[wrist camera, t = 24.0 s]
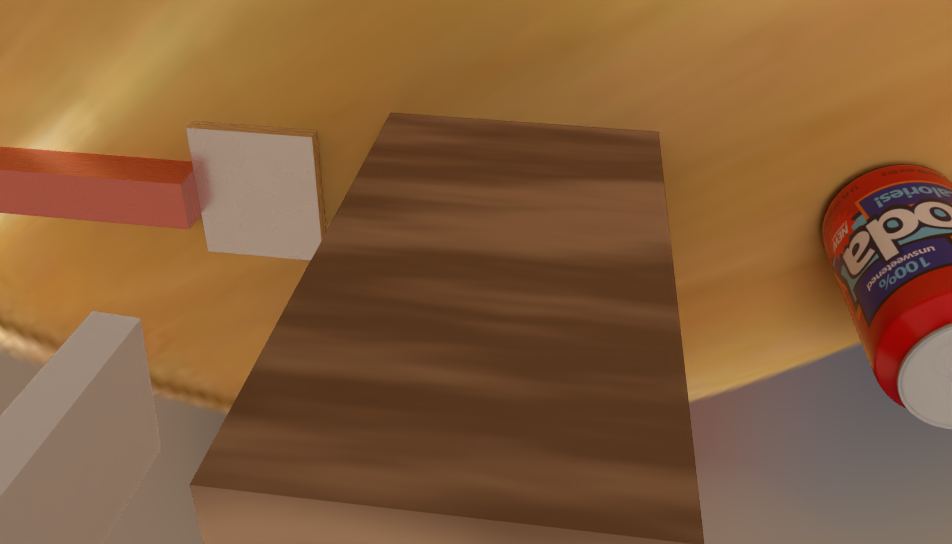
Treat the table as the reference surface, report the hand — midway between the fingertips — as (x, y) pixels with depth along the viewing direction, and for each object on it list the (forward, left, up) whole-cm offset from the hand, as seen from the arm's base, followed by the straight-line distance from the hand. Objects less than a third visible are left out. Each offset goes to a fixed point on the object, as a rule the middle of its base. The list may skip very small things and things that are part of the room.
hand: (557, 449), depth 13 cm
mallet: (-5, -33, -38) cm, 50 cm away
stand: (+11, -14, -38) cm, 42 cm away
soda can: (+24, +4, -38) cm, 46 cm away
